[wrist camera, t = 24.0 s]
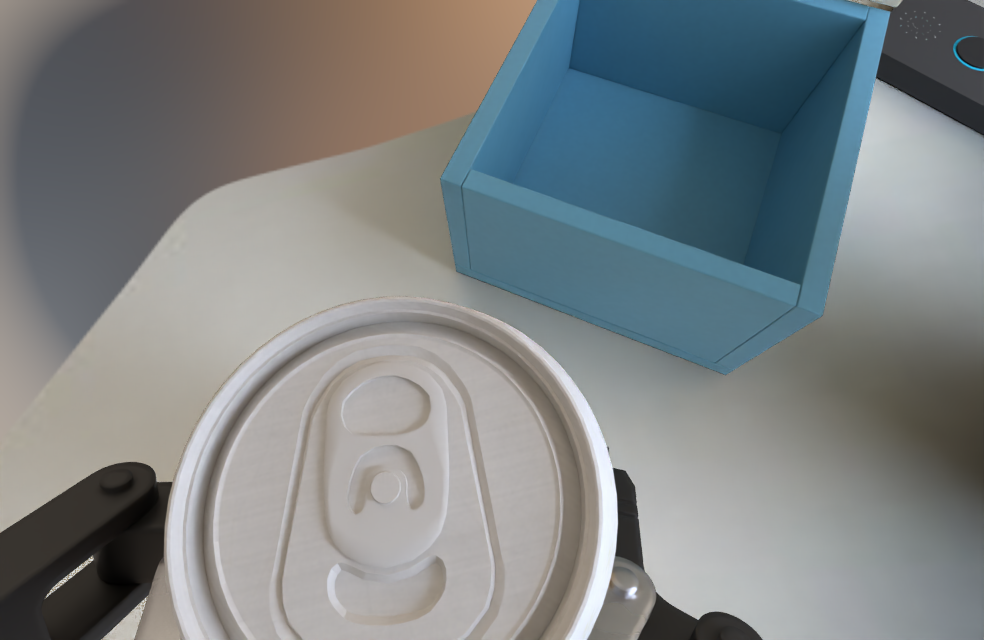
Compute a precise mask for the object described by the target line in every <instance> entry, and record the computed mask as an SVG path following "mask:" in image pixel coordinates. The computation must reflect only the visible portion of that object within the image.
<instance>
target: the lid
mask: <svg viewBox="0 0 984 640" xmlns="http://www.w3.org/2000/svg"><path fill="white" fill-rule="evenodd" d="M869 1H873V2H877V3H881V4H884V5H888V6H892V7H897V6H898V5H899V4H900V3H901V1H902V0H869Z"/></svg>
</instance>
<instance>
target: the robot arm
mask: <svg viewBox="0 0 984 640" xmlns="http://www.w3.org/2000/svg"><path fill="white" fill-rule="evenodd" d="M607 449H608V453H609V448H608V447H607ZM613 473H614V480H615V487H616V493H617V513H618V528H617V541H616V552H615V558H614V563H613V568H612V574H611V579H610V582H609V585H608V589H607V592H606V595H605V599H604V602H603V605H602V608H601V610H600V612H599V615H598V617H597V619H596V622H595V624H594V626H593V628H592V631H591V633H590V635H589V636H588V638H587V640H763V639H762V638H761V637H760V636H759V635H758V633H757V632H756V631H755V630H754V629H753V628H751V627H750V626H749V625H748V624H746V623H745V622H743V621H742V620H740V619H739V618H737V617H735V616H732V615H730V614H727V613H722V612H709V613H707V614H705V615H703V616H702V617H701V618H700V619H699V620H697V619H695V618H693V617H692V616H690V615H688V614H686V613H684V612H683V611H681V610H679V609H677V608H675V607H674V606H672V605H671V604H669V603H668V602H666V601H665V600H664V599H663V598H662V597H661V596H659V595H658V594H657V592H656V590H655V587H654V584H653V582H652V580H651V579H650V577H649V576H648V575H647V573H646V572H645V571H644V566H643V557H642V547H641V538H640V529H639V519H638V510H637V506H636V503H637V501H636V492H635V486H634V484H633V483H632V481H631V479H630V478H629V476H628V474H627V473H626V471H624V470H620V469H615V468H613ZM172 483H173V482H157V480H156V475H155V471H154V470H153V469H152V468H151V467H150V466H148V465H146V464H143V463H138V462H125V463H118V464H114V465H110V466H108V467H105V468H102V469H100V470H98V471H96V472H94V473H93V474H91V475H90V476H88V477H86V478H85V479H83V480H82V481H80V482H79V483H77V484H76V485H74V486H72V487H71V488H69V489H68V490H66V491H65V492H63V493H62V494H60V495H58V496H57V497H55V498H54V499H52V500H51V501H49V502H48V503H46V504H44V505H43V506H41V507H40V508H38V509H37V510H35V511H34V512H32V513H30V514H29V515H27V516H26V517H24V518H23V519H21V520H20V521H18V522H16V523H15V524H13V525H12V526H10V527H9V528H7V529H6V530H4V531H2V532H1V533H0V640H101V639H102V638H103V637H104V636H105V635H107V634H108V633H109V632H110V631H111V630H112V629H113V628H114V627H115V626H116V625H117V624H118V623H119V622H120V621H121V620H122V619H123V618H125V617H126V616H127V615H128V614H129V613H130V612H131V611H132V610H133V609H134V608H135V607H136V606H137V605H138V604H139V603H140V602H141V601H143V600H144V599H145V598H146V597H147V596H148V598H147V601H146V605H145V608H144V611H143V614H142V617H141V620H140V623H139V626H138V630H137V633H136V636H135V639H134V640H182V638H181V636H180V633H179V630H178V627H177V624H176V621H175V618H174V615H173V612H172V609H171V604H170V599H169V594H168V589H167V584H166V574H165V562H164V533H165V521H166V514H167V507H168V500H169V495H170V491H171V487H172ZM92 555H93V558H94V560H93V561H92V562H91V563H89V564H88V565H87V566H86V567H84V568H83V569H82V570H81V571H79V572H78V573H77V574H76V575H74V576H73V577H72V578H71V579H69V580H68V581H67V582H66V583H64V584H63V585H62V586H61V587H59V588H58V589H57V590H56V591H54V592H53V593H52V594H50V595H49V596H48V597H47V598H45V597H46V595H47V594H48V592H49V591H50V590H51V589H52V588H53V587H54V586H55V585H56V584H57V583H58V582H59V581H61V580H62V579H63V578H64V577H66V576H67V575H68V574H70V573H71V572H72V571H73V570H75V569H76V568H77V567H78V566H80V565H81V564H82V563H84V562H85V561H86V560H87V559H89V558H90V557H91V556H92Z"/></svg>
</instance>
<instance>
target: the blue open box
mask: <svg viewBox="0 0 984 640" xmlns="http://www.w3.org/2000/svg"><path fill="white" fill-rule="evenodd" d="M889 16H890V12H889V11H885V10H882V9H878V8H874V7H869V6H867V5H863V4H859V3H855V2H852V1H848V0H537V2H536V4H535V6H534V7H533V9H532V11H531V13H530V15H529V17H528V18H527V20H526V22H525V24H524V26H523V28H522V30H521V31H520V33H519V35H518V37H517V39H516V40H515V42H514V44H513V46H512V48H511V50H510V51H509V53H508V55H507V57H506V59H505V61H504V62H503V64H502V66H501V68H500V70H499V72H498V73H497V75H496V77H495V79H494V81H493V83H492V85H491V86H490V88H489V90H488V92H487V94H486V95H485V98H484V99H483V101H482V103H481V105H480V106H479V108H478V110H477V112H476V114H475V116H474V117H473V119H472V121H471V123H470V125H469V127H468V128H467V130H466V132H465V134H464V136H463V138H462V139H461V141H460V143H459V145H458V147H457V149H456V150H455V152H454V154H453V156H452V158H451V160H450V161H449V163H448V165H447V167H446V169H445V171H444V172H443V174H442V176H441V178H440V181H441V187H442V193H443V198H444V204H445V210H446V215H447V221H448V227H449V232H450V238H451V244H452V249H453V255H454V261H455V267H456V271H457V272H460V273H462V274H465V275H467V276H470V277H473V278H475V279H478V280H480V281H483V282H486V283H488V284H491V285H493V286H496V287H498V288H501V289H504V290H506V291H509V292H511V293H514V294H517V295H519V296H522V297H524V298H527V299H530V300H532V301H535V302H537V303H540V304H543V305H545V306H548V307H550V308H553V309H556V310H558V311H561V312H563V313H566V314H569V315H571V316H574V317H576V318H579V319H582V320H584V321H587V322H589V323H592V324H595V325H597V326H600V327H602V328H605V329H608V330H610V331H613V332H615V333H618V334H621V335H623V336H626V337H628V338H631V339H634V340H636V341H639V342H641V343H644V344H646V345H649V346H652V347H654V348H657V349H659V350H662V351H665V352H667V353H670V354H672V355H675V356H678V357H680V358H683V359H685V360H688V361H691V362H693V363H696V364H698V365H701V366H704V367H706V368H709V369H711V370H714V371H717V372H719V373H722V374H724V375H726V374H728V373H730V372H731V371H733V370H735V369H736V368H738V367H740V366H741V365H743V364H744V363H746V362H748V361H749V360H751V359H753V358H754V357H756V356H758V355H759V354H761V353H762V352H764V351H766V350H767V349H769V348H771V347H772V346H774V345H776V344H777V343H779V342H780V341H782V340H784V339H785V338H787V337H789V336H790V335H792V334H794V333H795V332H797V331H798V330H800V329H802V328H803V327H805V326H807V325H808V324H810V323H812V322H813V321H815V320H816V319H818V318H820V317H821V316H822V315H823V312H824V307H825V303H826V298H827V294H828V289H829V285H830V280H831V276H832V271H833V267H834V262H835V258H836V253H837V249H838V244H839V240H840V235H841V231H842V226H843V222H844V217H845V213H846V208H847V204H848V200H849V195H850V191H851V186H852V182H853V177H854V173H855V168H856V164H857V159H858V155H859V150H860V146H861V141H862V137H863V132H864V128H865V123H866V119H867V114H868V110H869V105H870V101H871V96H872V92H873V87H874V83H875V78H876V74H877V69H878V65H879V60H880V56H881V51H882V47H883V42H884V38H885V33H886V29H887V25H888V20H889Z"/></svg>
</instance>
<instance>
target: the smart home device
mask: <svg viewBox="0 0 984 640" xmlns="http://www.w3.org/2000/svg"><path fill="white" fill-rule="evenodd" d="M876 77H878V78H880V79H882V80H884V81H885V82H887V83H889V84H891V85H893V86H895V87H897V88H898V89H900V90H902V91H904V92H906V93H908V94H910V95H911V96H913V97H915V98H917V99H919V100H921V101H923V102H924V103H926V104H928V105H930V106H932V107H934V108H936V109H937V110H939V111H941V112H943V113H945V114H947V115H949V116H950V117H952V118H954V119H956V120H958V121H960V122H961V123H963V124H965V125H967V126H969V127H971V128H973V129H974V130H976V131H978V132H980V133H982V134H984V8H983V7H981V6H979V5H977V4H975V3H972V2H970V1H968V0H902V1H901V3H900V4H899V5H898V6H897V7H895V8H894V9H893V10H892V11H891V12H890V16H889V20H888V25H887V29H886V33H885V38H884V42H883V47H882V51H881V56H880V60H879V65H878V69H877V74H876Z"/></svg>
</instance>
